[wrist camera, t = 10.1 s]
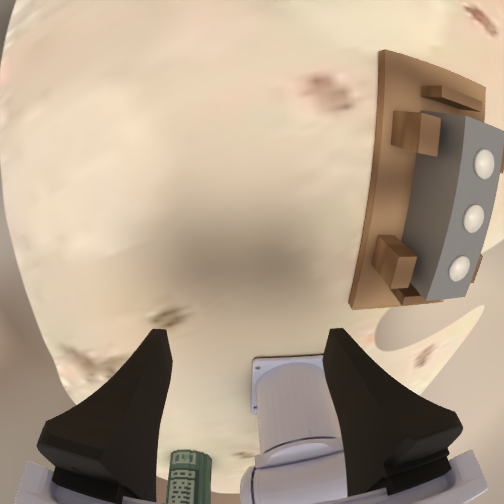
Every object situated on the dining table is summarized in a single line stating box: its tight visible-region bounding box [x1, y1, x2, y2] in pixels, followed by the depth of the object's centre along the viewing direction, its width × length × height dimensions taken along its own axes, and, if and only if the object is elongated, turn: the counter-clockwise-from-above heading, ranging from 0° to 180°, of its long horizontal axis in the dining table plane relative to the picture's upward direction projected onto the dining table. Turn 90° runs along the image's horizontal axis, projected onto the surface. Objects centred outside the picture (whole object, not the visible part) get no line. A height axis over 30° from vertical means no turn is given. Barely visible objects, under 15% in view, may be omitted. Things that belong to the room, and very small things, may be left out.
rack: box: [349, 50, 504, 310], centre depth 18 cm, size 20×10×4 cm, turn 179°
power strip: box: [401, 110, 504, 301], centre depth 16 cm, size 12×4×5 cm, turn 179°
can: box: [166, 450, 212, 504], centre depth 30 cm, size 6×6×15 cm
